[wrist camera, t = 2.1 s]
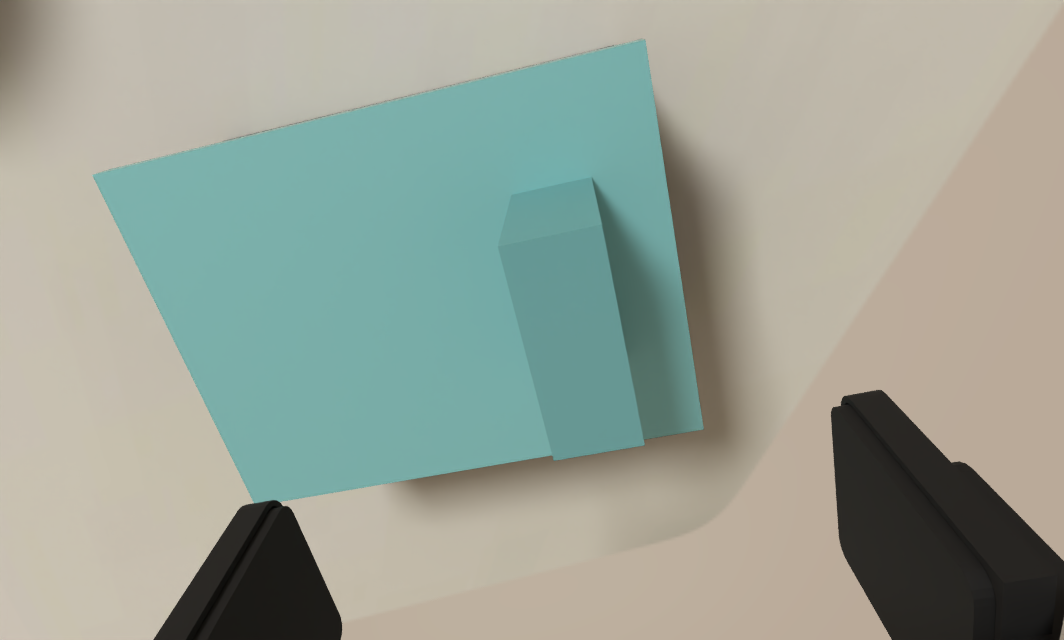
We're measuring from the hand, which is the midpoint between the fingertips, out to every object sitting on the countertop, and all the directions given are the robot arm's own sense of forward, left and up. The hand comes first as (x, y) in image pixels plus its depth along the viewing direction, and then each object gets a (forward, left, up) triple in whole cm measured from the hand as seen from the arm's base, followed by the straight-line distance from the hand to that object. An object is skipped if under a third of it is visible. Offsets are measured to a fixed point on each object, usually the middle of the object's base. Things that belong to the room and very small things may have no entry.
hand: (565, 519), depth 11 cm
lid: (+5, 0, -12) cm, 13 cm away
